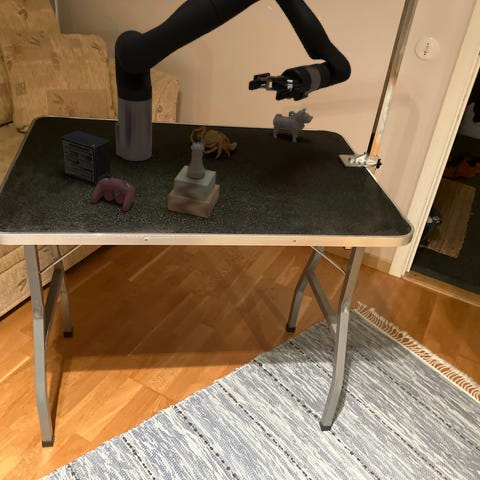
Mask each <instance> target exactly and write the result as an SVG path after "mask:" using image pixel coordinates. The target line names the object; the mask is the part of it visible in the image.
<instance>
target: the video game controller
mask: <svg viewBox="0 0 480 480" xmlns="http://www.w3.org/2000/svg"><path fill="white" fill-rule="evenodd" d="M115 192H118V194H117V196H116V195H115ZM136 192H137V191H136V188H135V187H134V186H133V184H130V183H129V182H127V181H125V180H123V179H120V178H116V177H109V178H104V179H102V180H101V181H99V182H98V184H97V185H95V188H94V190H93V192H92V195H91V201H90V202H91V203H92V204H96V203H97V202H99V200H100V199H101V197H102V196H104V199H105V200H106V201H110V202H111V201H113V200H114V199H115V201H116V203H118V204H119V205H122V211H123V212H124V213H126V212H128V210H129V209H130V208H131V206H132V204H133V201H134V197H135V196H136V194H137V193H136Z"/></svg>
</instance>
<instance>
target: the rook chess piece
mask: <svg viewBox="0 0 480 480" xmlns="http://www.w3.org/2000/svg"><path fill="white" fill-rule="evenodd" d="M199 143H200V141H197V142H195V141H194V144H193V143H192V144H191V145H190V150H191V151H192V152H190V153H191V160H190V164H189V165H188V166H189V167H188V168H187V170H188V171H187V174H188V176H189V177H190V178H193V179H200V178H203V177H204V176H205V170H206V168H205V166H204V164H203V156H204V153H203V150H206V148H205V147H203V144H202V143H200V144H199Z"/></svg>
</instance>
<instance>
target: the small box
mask: <svg viewBox="0 0 480 480" xmlns="http://www.w3.org/2000/svg"><path fill="white" fill-rule="evenodd" d="M60 140H61V148H62V157H63V167H64V168H63V170H64V172H63V173H64V175H66V176H69V177H71V178H75V179H78V180H81V181H83V182H86V183H88V184H92V185H95V186H97V184H98V182H99V181H101V180H102V179H104V178H112V175H111V158H110V157H111V155H110V140H108V139H105V138H103V137H100V136H96V135H92V134H91V133H90V134H89V133H87V132H83V131H80V130H74V131H72V132H70V133H67V134H65V135H62V136H61V137H60Z"/></svg>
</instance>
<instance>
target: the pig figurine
mask: <svg viewBox="0 0 480 480" xmlns="http://www.w3.org/2000/svg"><path fill="white" fill-rule="evenodd" d="M306 111H307V108H305V107H304V108H302V109H300V110H298V111H297V112H295V111H294V110H290V111H289V112H288V116H286V115H285V116H284V115H283V114H282V113H276V114H275V115H274V117H273V120H272V125H273V135H272V136H273V138H275V139H277V138H278V136H277V135H279V134H280V131H279V130H284V131H285V130H286V131H288V132H290V133H291V135H292V143H296V142H297V139H298V133H300V132H301V131H303V129H305V126H306V125H305V124H310V123H311V122H312V121H313V120H314V119H313V118H314V116H312V115H311V114H310V113H308V112H306Z"/></svg>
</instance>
